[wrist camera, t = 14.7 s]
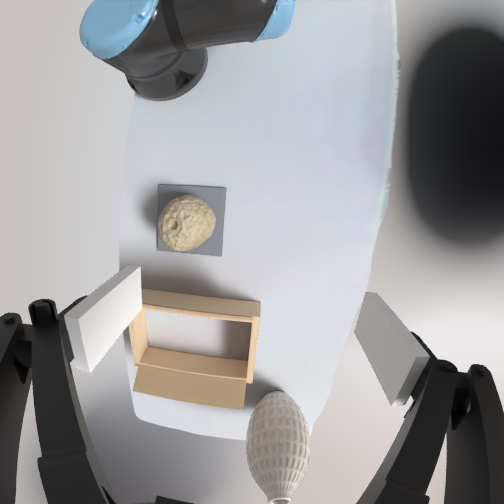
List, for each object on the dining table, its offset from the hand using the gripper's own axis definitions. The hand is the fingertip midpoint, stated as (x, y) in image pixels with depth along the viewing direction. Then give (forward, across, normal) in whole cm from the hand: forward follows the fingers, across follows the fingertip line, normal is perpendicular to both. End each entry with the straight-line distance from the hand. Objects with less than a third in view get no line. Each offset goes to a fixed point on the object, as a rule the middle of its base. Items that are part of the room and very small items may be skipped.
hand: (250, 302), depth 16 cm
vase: (+34, +9, -42) cm, 55 cm away
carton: (+34, -10, -24) cm, 43 cm away
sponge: (+34, -12, -2) cm, 36 cm away
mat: (+34, -12, -2) cm, 36 cm away
